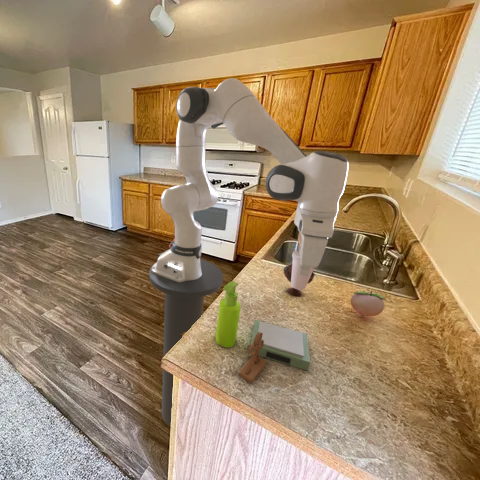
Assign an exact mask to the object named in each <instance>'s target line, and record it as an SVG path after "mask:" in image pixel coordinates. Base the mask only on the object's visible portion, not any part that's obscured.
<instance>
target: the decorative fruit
mask: <svg viewBox="0 0 480 480" xmlns="http://www.w3.org/2000/svg"><path fill="white" fill-rule="evenodd" d="M384 301H387V299H386V298H385V297H384V296H383V295H381V294H379V293H374V292H373V290H371V291H370V292H367V291H364V290H357V291H355V292H353V294H352V296H351V298H350V305H351V307H352V308H353V310H354V311H355V312H356V313H357V314H359V315H361V316H363V317H364V316H365V317H367V316H368V317H375V316H379V315H380V314H382V312H383V311H384V309H385V302H384Z"/></svg>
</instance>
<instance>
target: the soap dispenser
mask: <svg viewBox="0 0 480 480" xmlns="http://www.w3.org/2000/svg"><path fill="white" fill-rule="evenodd" d="M237 286H239V282H236V281H235V280H231V281H229V282H228V283H226V284H225V285H224V287H223V288H222V290H223V291H225V295H224V298H222V299H220V301H219V305H218V314H217V322H216V331H215V342H216V344H218V345H219V346H221V347H224V348H232V347H234V346H235V344H236V340H237V334H238V327H239V321H240V315H241V307H242V305H241V303H240V302H239V301H238V298H239V297H238V296H239V294H238V293H237V291H236V289H237V288H236V287H237Z"/></svg>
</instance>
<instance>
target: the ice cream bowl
mask: <svg viewBox="0 0 480 480" xmlns="http://www.w3.org/2000/svg"><path fill="white" fill-rule="evenodd" d="M283 275H284V277H285V278H286V279H287V281H288V282H289V283H291V275H292V263H290V264H289V265H286V266H284V267H283ZM315 276H316V273H315V272H314V271H313V272H312V274H311V276H310V279H309V281H308V283H307V285H308V284H310V283H311V282H313V280H314V278H315ZM286 292H287V294H289V295H290V296H294V297H301V296H302V294H303V293H302V290H298V289H295V288H293V287H288V288H287V289H286Z"/></svg>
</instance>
